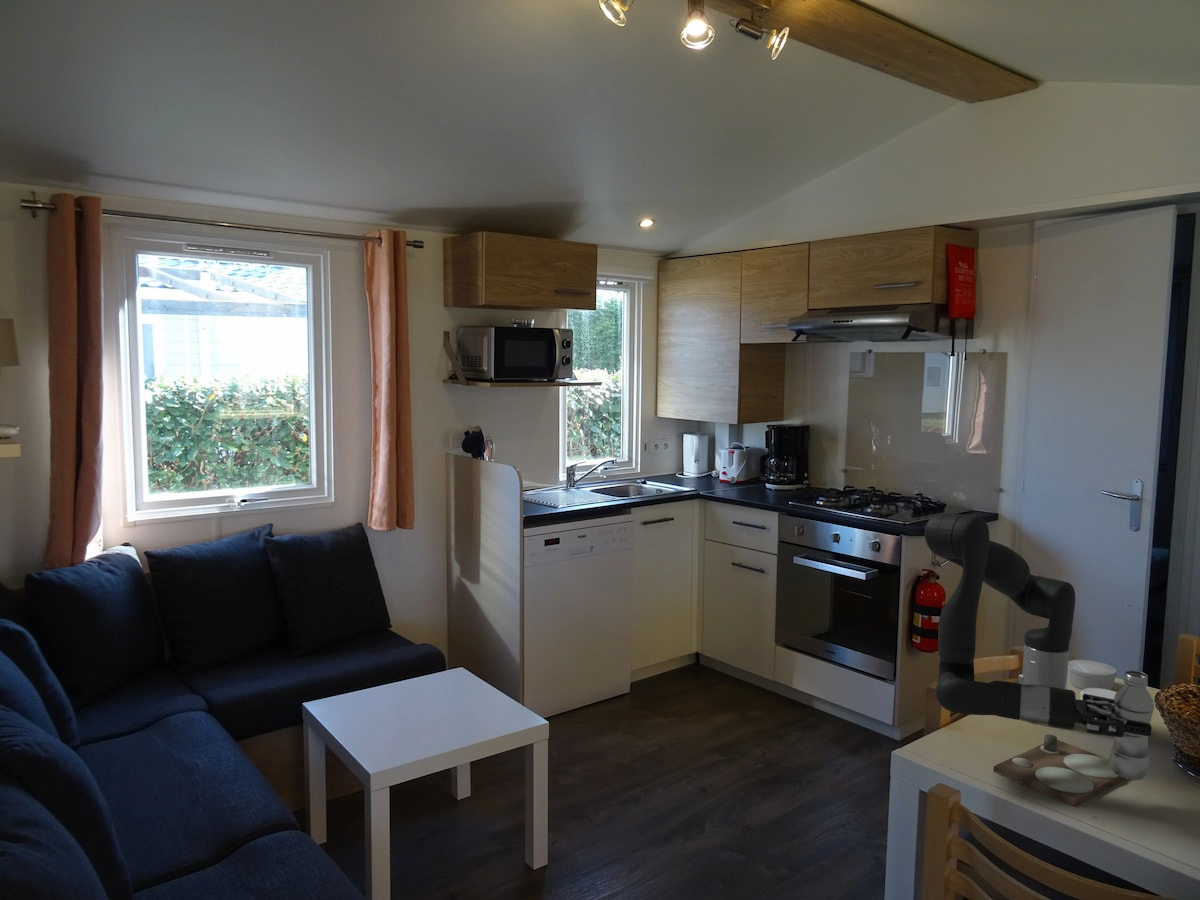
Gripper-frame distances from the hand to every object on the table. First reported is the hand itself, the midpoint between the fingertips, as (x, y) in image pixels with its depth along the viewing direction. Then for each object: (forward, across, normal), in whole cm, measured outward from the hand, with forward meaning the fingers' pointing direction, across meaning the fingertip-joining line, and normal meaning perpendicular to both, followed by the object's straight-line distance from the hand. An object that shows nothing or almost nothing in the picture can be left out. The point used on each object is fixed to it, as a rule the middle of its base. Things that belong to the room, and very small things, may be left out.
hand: (1148, 722), depth 154 cm
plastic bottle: (-3, 0, +11) cm, 11 cm away
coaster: (-3, +49, +17) cm, 52 cm away
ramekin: (-4, +64, +18) cm, 67 cm away
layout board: (-13, +8, +16) cm, 22 cm away
